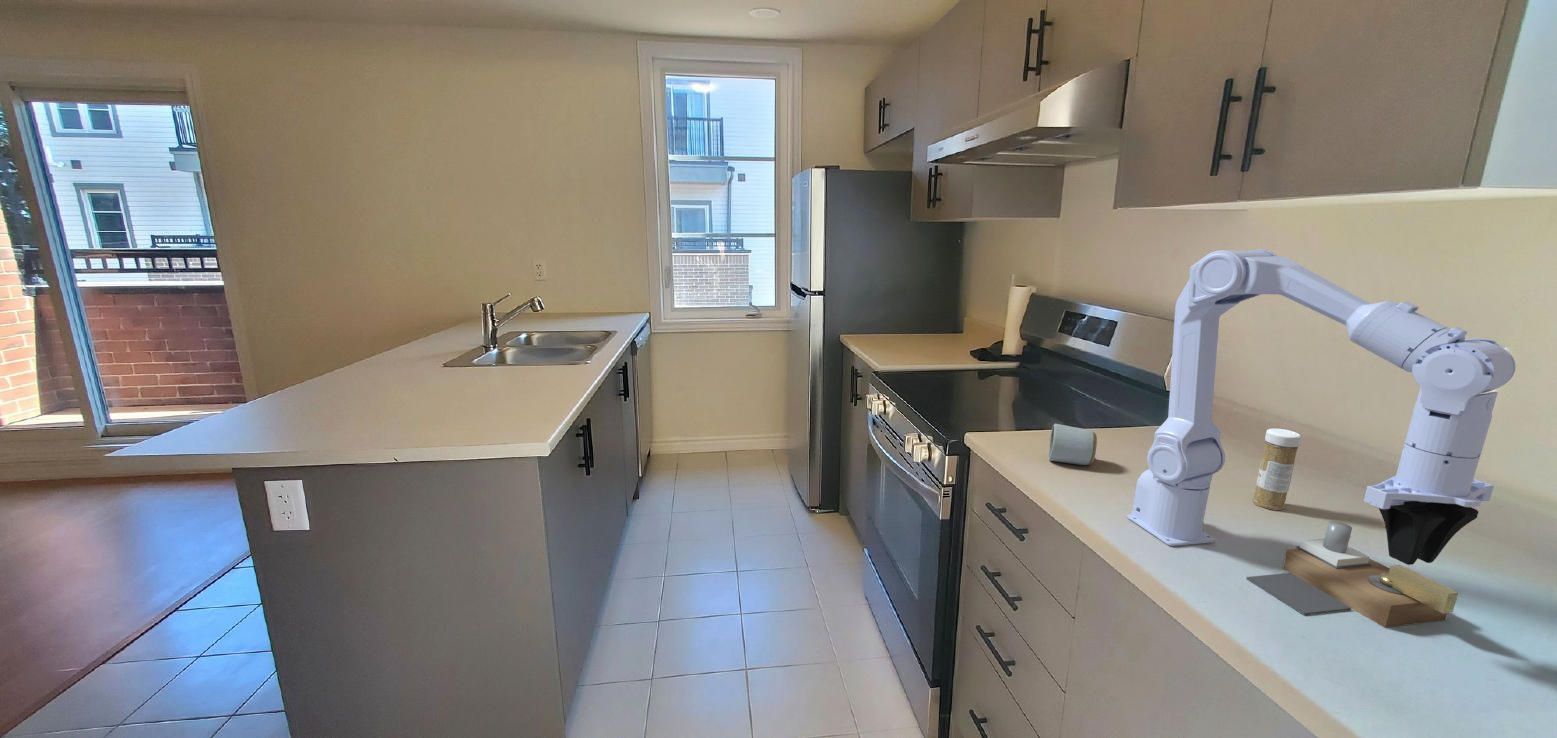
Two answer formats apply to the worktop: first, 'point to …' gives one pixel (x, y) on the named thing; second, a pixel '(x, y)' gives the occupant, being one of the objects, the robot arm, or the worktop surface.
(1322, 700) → the worktop surface
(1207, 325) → the robot arm
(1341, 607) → the mat
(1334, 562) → the cover
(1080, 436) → the ceramic mug
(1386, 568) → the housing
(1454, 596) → the lever handle
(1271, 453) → the sprinkles bottle
